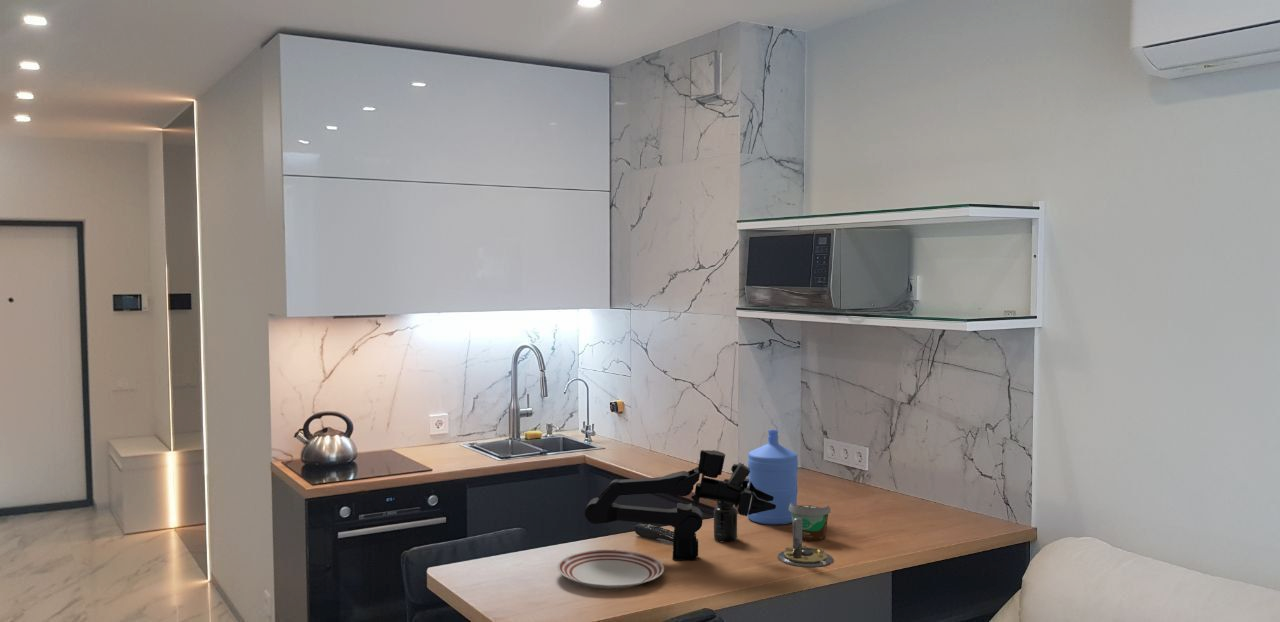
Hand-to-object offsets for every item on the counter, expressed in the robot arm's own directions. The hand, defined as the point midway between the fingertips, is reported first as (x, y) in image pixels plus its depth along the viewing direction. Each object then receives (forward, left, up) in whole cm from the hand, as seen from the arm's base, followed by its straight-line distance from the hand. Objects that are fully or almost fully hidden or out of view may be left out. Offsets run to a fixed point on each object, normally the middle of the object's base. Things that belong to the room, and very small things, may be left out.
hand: (774, 502), depth 267 cm
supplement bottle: (-12, +19, -16) cm, 27 cm away
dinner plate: (-43, -17, -16) cm, 49 cm away
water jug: (+3, +42, -16) cm, 45 cm away
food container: (+12, +20, -16) cm, 28 cm away
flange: (+9, +1, -16) cm, 18 cm away
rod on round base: (+9, +1, -16) cm, 18 cm away
